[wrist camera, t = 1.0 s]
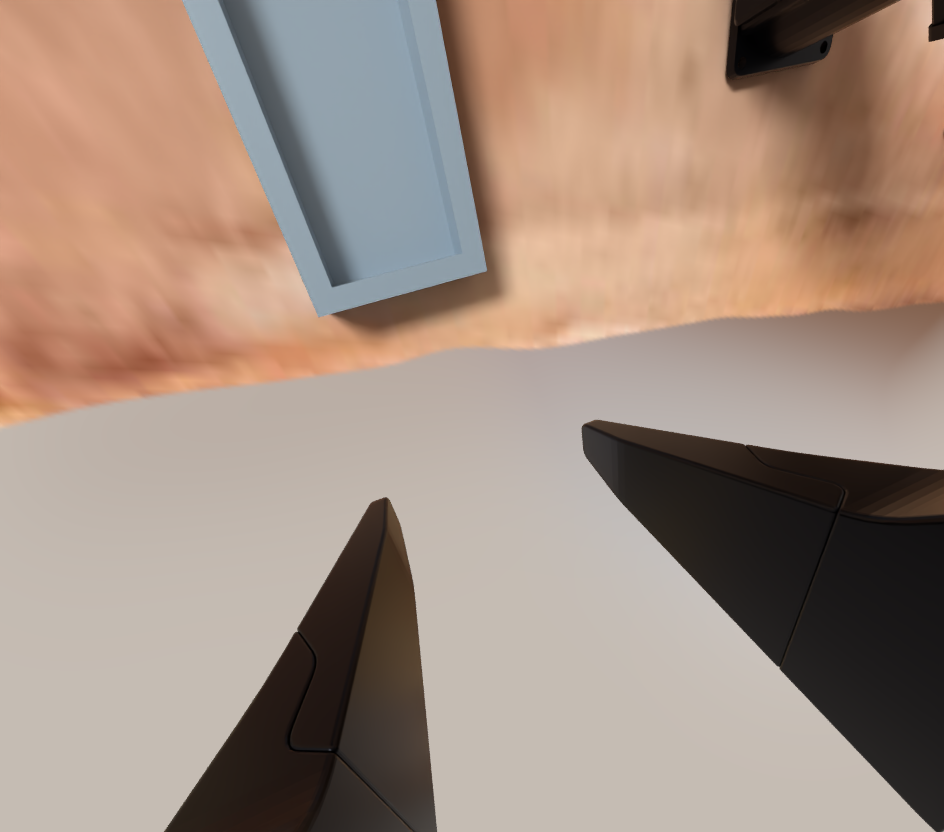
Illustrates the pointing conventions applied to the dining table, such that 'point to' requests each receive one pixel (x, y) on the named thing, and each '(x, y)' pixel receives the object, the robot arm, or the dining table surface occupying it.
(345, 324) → the dining table surface
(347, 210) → the grey shell
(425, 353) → the dining table surface
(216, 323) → the dining table surface
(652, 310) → the dining table surface
